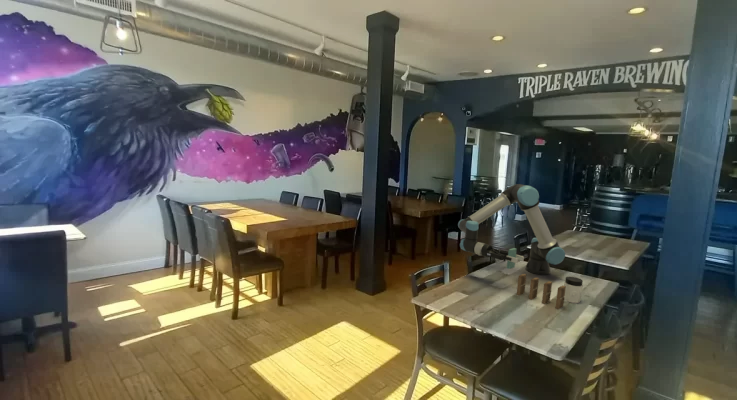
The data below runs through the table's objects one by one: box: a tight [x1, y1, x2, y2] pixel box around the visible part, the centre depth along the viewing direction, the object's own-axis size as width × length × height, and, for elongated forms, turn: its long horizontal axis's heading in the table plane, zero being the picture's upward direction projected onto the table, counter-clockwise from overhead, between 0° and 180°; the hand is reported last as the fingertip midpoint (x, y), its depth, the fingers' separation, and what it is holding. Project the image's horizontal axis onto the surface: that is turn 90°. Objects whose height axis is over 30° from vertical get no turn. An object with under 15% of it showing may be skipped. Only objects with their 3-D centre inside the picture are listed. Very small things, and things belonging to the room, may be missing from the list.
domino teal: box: [506, 247, 517, 270], centre depth 209 cm, size 6×2×11 cm, turn 131°
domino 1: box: [515, 273, 527, 296], centre depth 205 cm, size 6×2×11 cm, turn 131°
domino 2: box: [528, 277, 540, 301], centre depth 200 cm, size 6×2×11 cm, turn 131°
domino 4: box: [555, 284, 566, 310], centre depth 190 cm, size 6×2×11 cm, turn 131°
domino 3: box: [541, 281, 553, 305], centre depth 195 cm, size 6×2×11 cm, turn 131°
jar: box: [563, 276, 583, 304], centre depth 200 cm, size 9×8×12 cm
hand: (520, 259), depth 205 cm, fingers closed on domino teal, 6 cm apart
